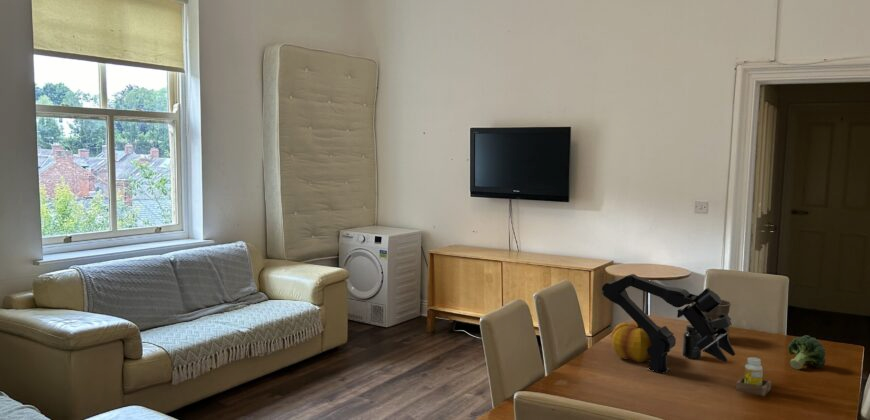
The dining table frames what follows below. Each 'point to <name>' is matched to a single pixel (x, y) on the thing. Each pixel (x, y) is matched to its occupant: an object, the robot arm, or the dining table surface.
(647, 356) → the decorative pumpkin
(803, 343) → the vegetable
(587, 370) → the dining table surface
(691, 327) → the supplement bottle
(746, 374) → the supplement bottle
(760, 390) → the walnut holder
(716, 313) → the plant pot
